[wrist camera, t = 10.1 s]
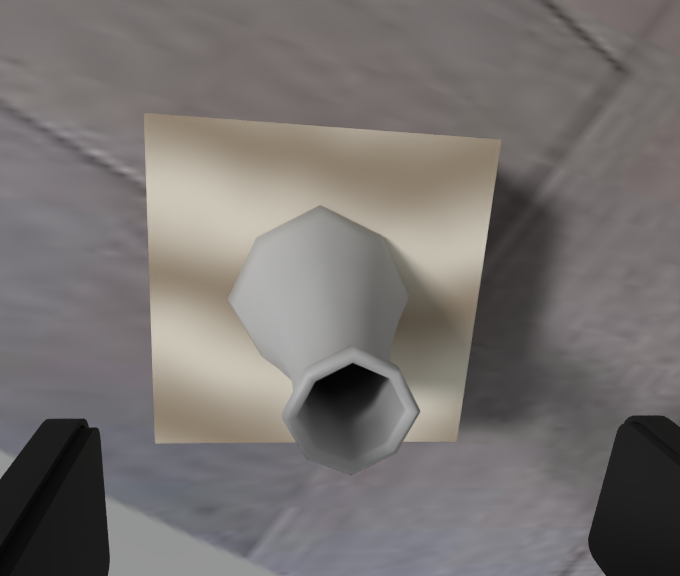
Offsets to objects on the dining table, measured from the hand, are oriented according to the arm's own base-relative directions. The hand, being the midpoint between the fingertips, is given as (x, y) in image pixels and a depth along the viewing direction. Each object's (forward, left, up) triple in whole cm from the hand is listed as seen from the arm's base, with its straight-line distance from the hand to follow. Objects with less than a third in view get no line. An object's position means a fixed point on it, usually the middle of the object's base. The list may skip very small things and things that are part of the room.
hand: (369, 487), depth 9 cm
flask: (0, 0, -14) cm, 13 cm away
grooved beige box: (+1, 0, -20) cm, 20 cm away
